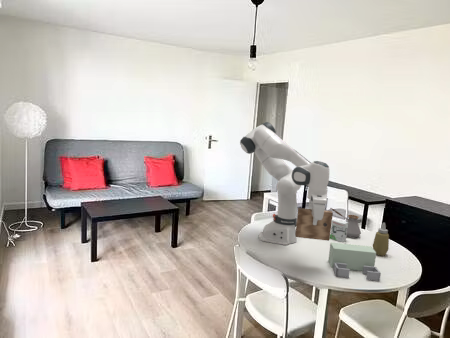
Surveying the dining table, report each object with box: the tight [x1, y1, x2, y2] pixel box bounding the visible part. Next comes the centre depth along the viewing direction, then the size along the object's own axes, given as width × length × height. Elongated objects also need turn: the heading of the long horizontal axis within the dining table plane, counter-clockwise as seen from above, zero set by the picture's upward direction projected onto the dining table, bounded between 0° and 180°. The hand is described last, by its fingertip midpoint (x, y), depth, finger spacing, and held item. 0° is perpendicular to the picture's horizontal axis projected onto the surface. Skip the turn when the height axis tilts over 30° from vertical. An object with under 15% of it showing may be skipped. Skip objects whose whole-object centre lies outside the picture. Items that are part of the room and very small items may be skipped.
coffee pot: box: [329, 207, 362, 239], centre depth 212 cm, size 21×12×15 cm, turn 50°
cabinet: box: [327, 242, 382, 282], centre depth 161 cm, size 17×20×10 cm
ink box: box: [330, 218, 348, 243], centre depth 202 cm, size 9×5×12 cm, turn 48°
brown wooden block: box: [295, 207, 334, 242], centre depth 160 cm, size 16×4×14 cm, turn 84°
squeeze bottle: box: [372, 222, 390, 257], centre depth 182 cm, size 8×8×18 cm
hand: (313, 223), depth 160 cm, fingers closed on brown wooden block, 3 cm apart
